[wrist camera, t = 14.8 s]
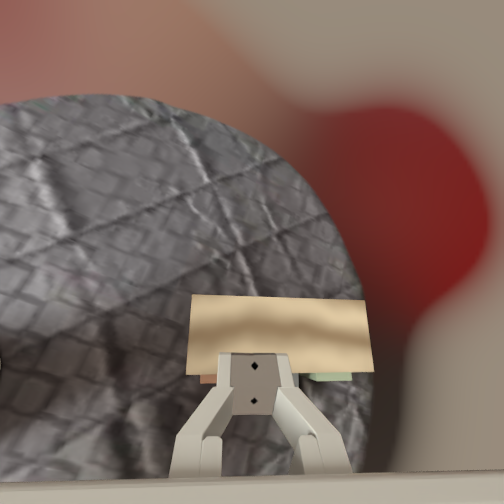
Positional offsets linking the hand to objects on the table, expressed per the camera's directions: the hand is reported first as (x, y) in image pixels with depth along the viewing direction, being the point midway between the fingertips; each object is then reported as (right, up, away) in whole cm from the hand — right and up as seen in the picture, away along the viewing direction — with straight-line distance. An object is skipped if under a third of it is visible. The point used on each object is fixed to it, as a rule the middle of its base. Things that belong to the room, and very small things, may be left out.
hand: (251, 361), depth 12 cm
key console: (+2, -8, +30) cm, 32 cm away
